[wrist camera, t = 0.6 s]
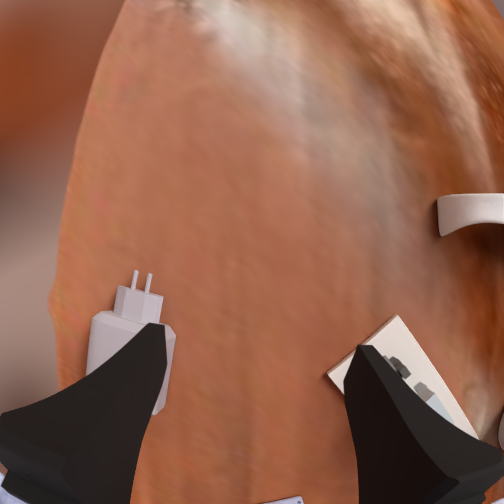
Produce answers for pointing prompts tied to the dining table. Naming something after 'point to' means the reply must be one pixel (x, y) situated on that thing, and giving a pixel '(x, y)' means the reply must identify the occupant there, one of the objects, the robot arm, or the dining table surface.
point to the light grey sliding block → (432, 400)
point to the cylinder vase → (501, 433)
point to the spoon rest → (469, 210)
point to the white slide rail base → (407, 367)
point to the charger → (128, 328)
